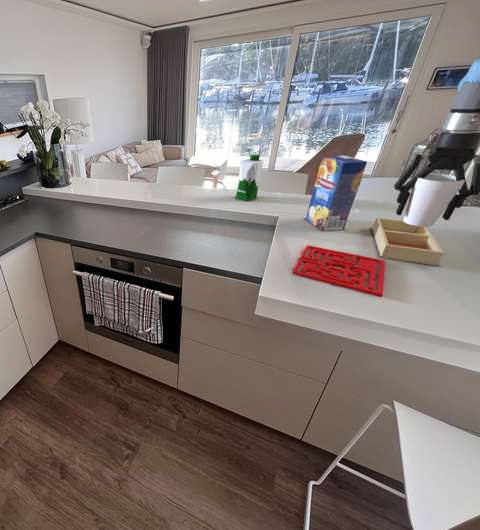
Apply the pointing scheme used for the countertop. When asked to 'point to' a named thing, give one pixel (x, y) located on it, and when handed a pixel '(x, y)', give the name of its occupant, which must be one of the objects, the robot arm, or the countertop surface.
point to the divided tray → (406, 242)
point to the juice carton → (335, 191)
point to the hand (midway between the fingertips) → (421, 215)
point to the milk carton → (249, 178)
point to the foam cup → (430, 198)
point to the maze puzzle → (364, 266)
